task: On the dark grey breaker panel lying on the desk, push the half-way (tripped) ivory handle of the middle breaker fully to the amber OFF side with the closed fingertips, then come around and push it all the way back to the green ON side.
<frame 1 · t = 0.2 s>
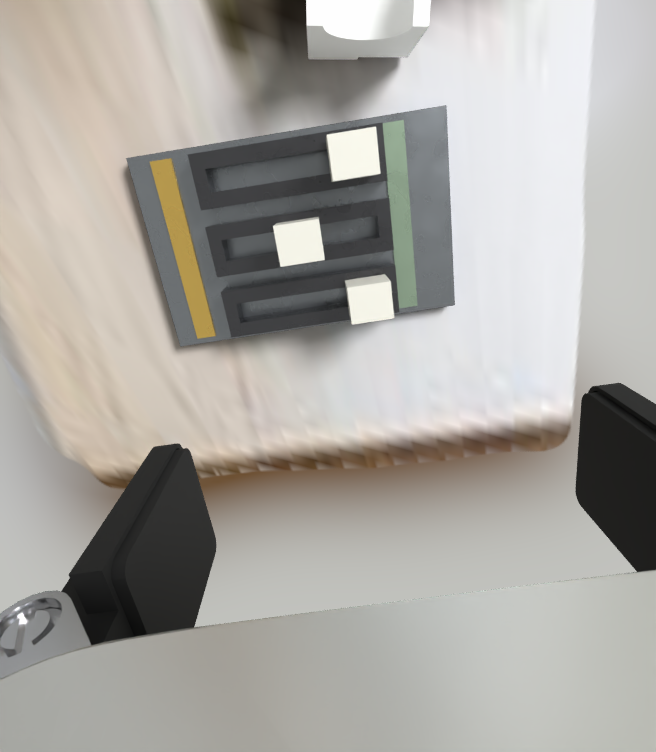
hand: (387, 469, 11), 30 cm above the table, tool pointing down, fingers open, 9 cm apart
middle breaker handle: (300, 239, 34), point 4 cm above the table, slide at 0.0 cm
breaker panel: (301, 235, 37), on the table
breaker handle 2: (351, 156, 32), point 4 cm above the table, slide at 4.5 cm
breaker handle 1: (367, 296, 36), point 4 cm above the table, slide at 4.5 cm
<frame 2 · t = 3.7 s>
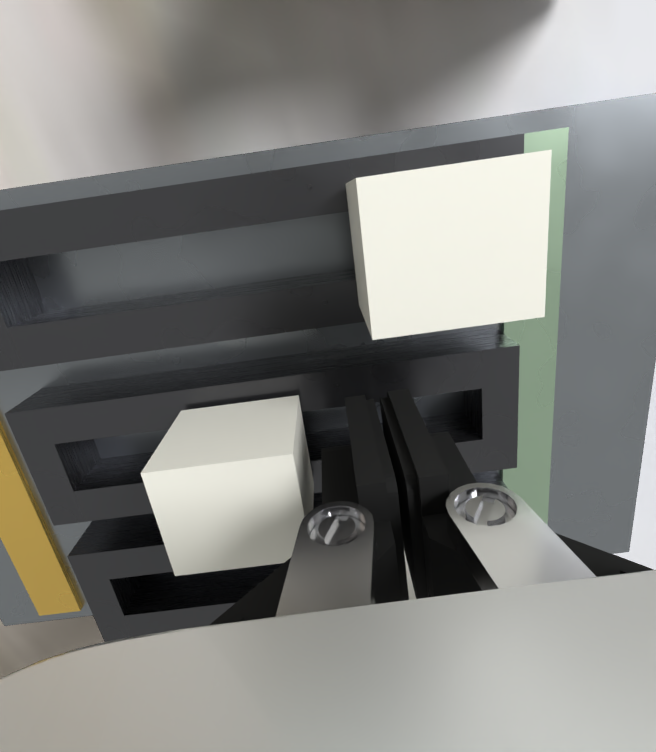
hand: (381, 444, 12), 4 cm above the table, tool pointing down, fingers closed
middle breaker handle: (246, 459, 12), point 4 cm above the table, slide at -0.6 cm, touching gripper
breaker panel: (278, 398, 16), on the table
breaker handle 2: (425, 239, 10), point 4 cm above the table, slide at 4.5 cm
breaker handle 1: (443, 579, 14), point 4 cm above the table, slide at 4.5 cm
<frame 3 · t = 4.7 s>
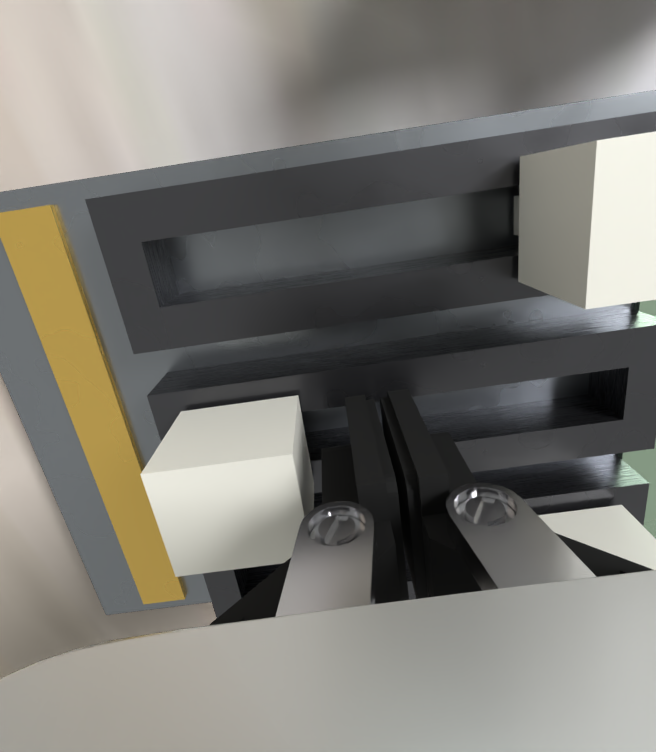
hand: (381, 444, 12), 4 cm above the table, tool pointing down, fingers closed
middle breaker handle: (246, 459, 12), point 4 cm above the table, slide at -4.5 cm, touching gripper
breaker panel: (393, 382, 15), on the table
breaker handle 2: (602, 212, 10), point 4 cm above the table, slide at 4.5 cm
breaker handle 1: (576, 562, 14), point 4 cm above the table, slide at 4.5 cm
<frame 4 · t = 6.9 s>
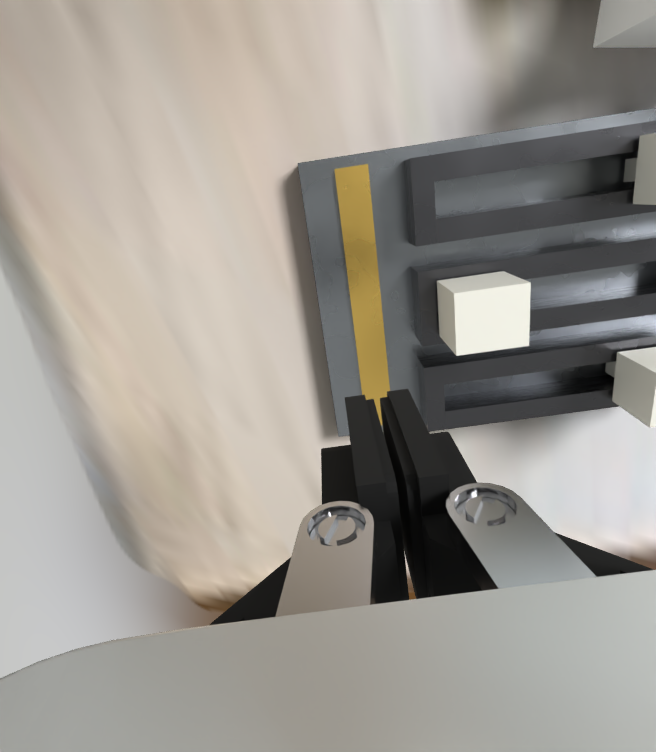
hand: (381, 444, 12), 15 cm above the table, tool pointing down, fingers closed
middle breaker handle: (474, 307, 22), point 4 cm above the table, slide at -4.6 cm
breaker panel: (535, 279, 25), on the table
breaker handle 1: (653, 377, 23), point 4 cm above the table, slide at 4.5 cm
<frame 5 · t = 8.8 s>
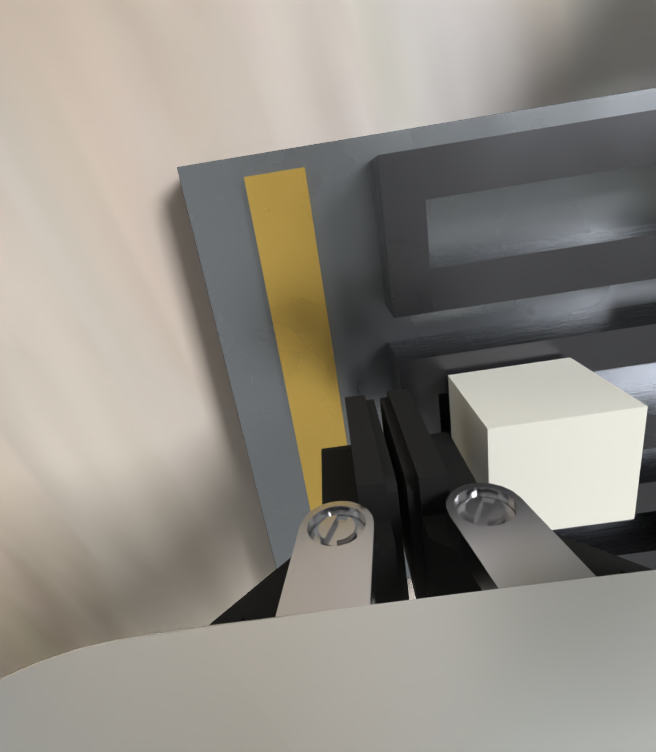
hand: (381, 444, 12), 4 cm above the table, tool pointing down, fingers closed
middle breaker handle: (517, 423, 12), point 4 cm above the table, slide at -4.2 cm, touching gripper
breaker panel: (595, 354, 15), on the table
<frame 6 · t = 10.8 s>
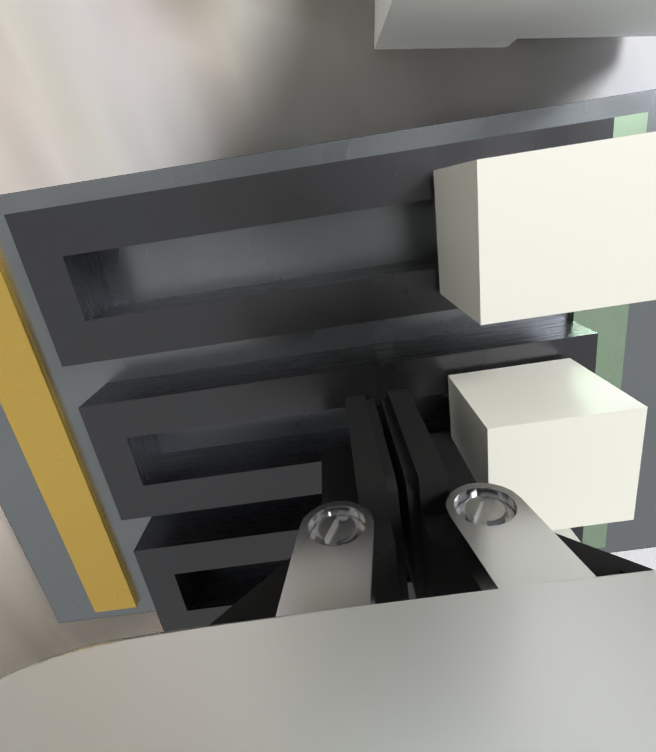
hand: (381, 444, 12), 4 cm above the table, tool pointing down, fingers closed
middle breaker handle: (517, 424, 12), point 4 cm above the table, slide at 4.6 cm, touching gripper
breaker panel: (338, 391, 16), on the table
breaker handle 2: (515, 226, 10), point 4 cm above the table, slide at 4.5 cm
breaker handle 1: (513, 570, 14), point 4 cm above the table, slide at 4.5 cm
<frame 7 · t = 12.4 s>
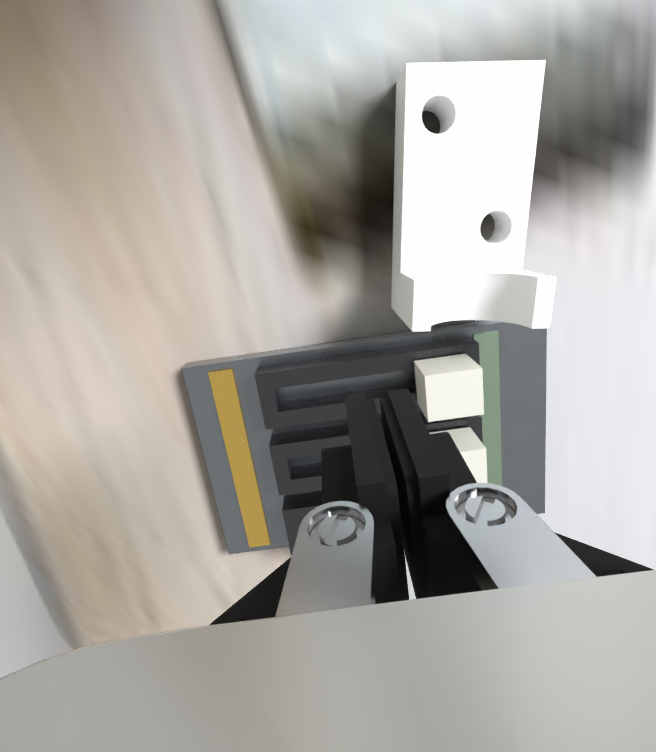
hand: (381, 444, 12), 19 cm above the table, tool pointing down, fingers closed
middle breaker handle: (449, 453, 29), point 4 cm above the table, slide at 4.6 cm
breaker panel: (372, 437, 33), on the table
breaker handle 2: (443, 381, 28), point 4 cm above the table, slide at 4.5 cm
bracket: (448, 202, 29), on the table
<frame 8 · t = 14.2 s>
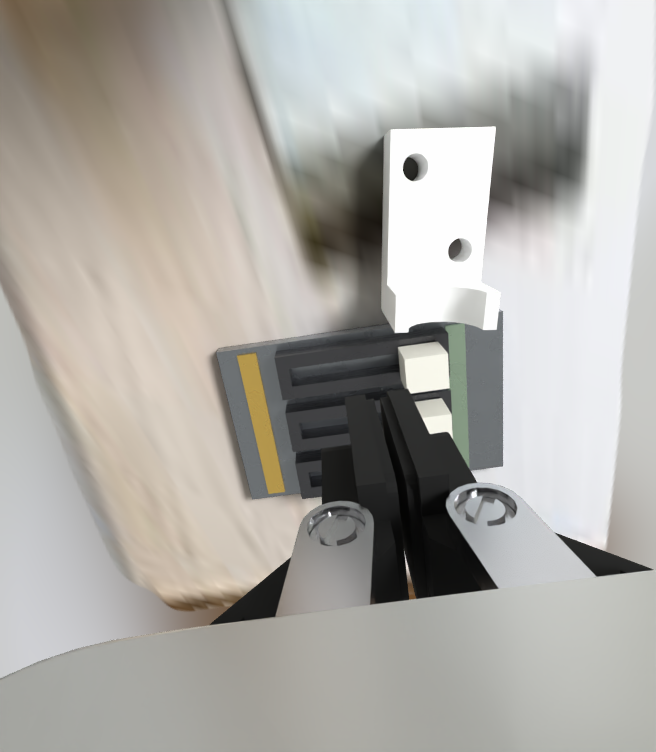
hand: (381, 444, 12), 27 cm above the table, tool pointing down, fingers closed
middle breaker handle: (425, 418, 38), point 4 cm above the table, slide at 4.6 cm
breaker panel: (366, 406, 41), on the table
breaker handle 2: (420, 363, 36), point 4 cm above the table, slide at 4.5 cm
bracket: (425, 226, 36), on the table
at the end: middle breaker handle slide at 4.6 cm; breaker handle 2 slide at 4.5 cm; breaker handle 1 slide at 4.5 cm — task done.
